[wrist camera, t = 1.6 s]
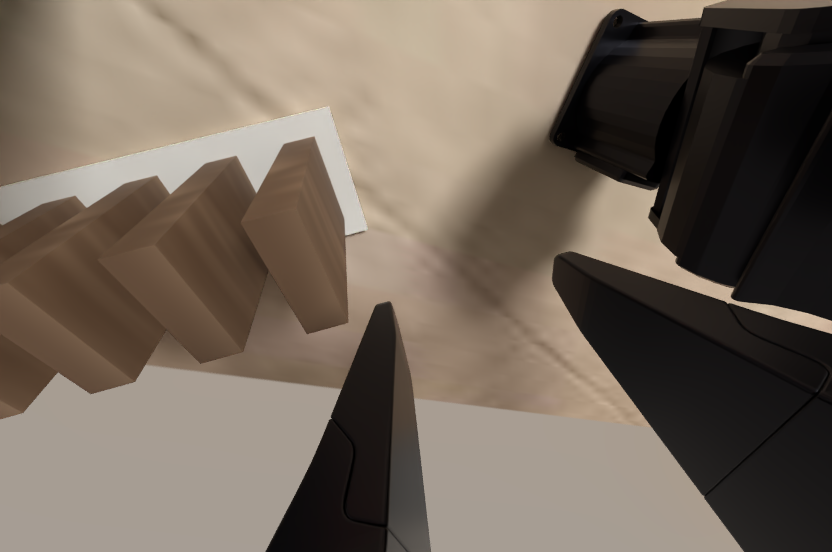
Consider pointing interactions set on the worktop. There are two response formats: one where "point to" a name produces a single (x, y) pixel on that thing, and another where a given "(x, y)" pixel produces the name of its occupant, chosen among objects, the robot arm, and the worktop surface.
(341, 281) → the domino
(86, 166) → the rack
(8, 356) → the domino
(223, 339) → the domino
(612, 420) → the worktop surface
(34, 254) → the domino
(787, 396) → the robot arm
